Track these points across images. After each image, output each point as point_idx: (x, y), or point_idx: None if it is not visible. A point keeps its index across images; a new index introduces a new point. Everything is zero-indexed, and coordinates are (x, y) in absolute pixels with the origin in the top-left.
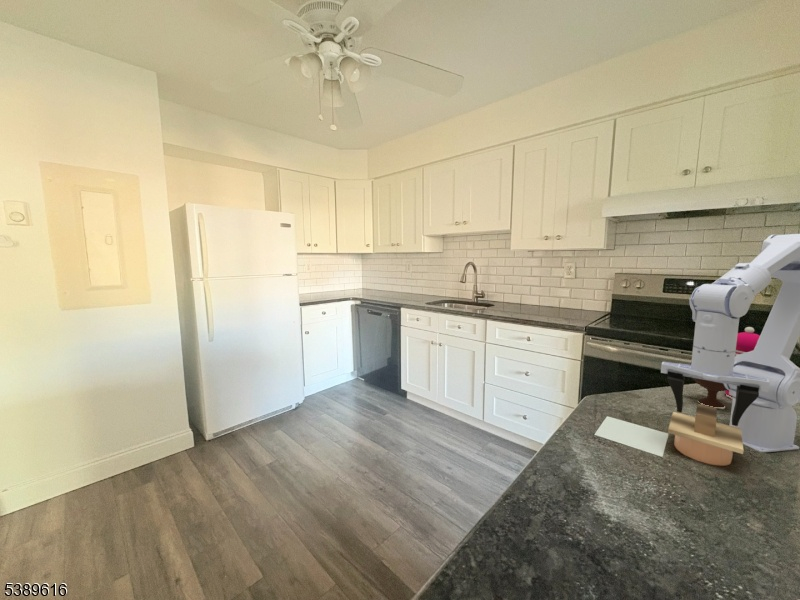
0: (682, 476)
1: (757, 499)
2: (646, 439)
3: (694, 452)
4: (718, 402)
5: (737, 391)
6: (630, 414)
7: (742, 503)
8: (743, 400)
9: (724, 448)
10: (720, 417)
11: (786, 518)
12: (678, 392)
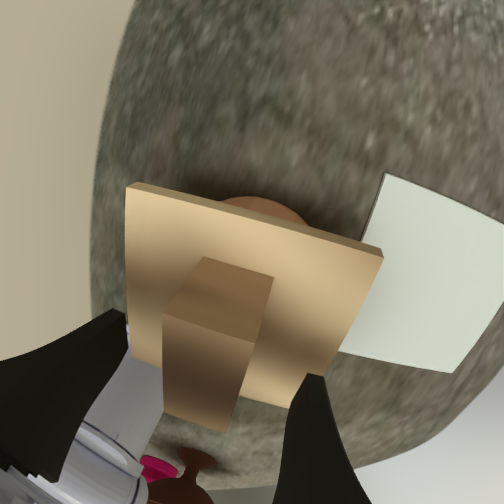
0: (344, 77)
1: (167, 65)
2: (400, 281)
3: (282, 216)
4: (184, 459)
5: (35, 447)
6: (376, 407)
7: (208, 18)
8: (6, 380)
9: (184, 194)
10: (186, 429)
11: (136, 22)
12: (329, 475)
